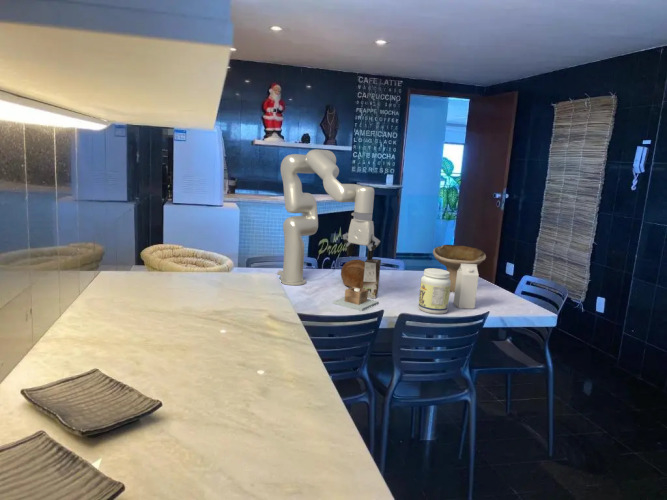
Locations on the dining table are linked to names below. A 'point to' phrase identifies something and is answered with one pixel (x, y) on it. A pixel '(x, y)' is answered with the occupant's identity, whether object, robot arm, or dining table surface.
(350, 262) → the bread
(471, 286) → the milk carton
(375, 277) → the coffee box
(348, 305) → the post plate
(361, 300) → the collar
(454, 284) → the bowl
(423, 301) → the supplement tub
